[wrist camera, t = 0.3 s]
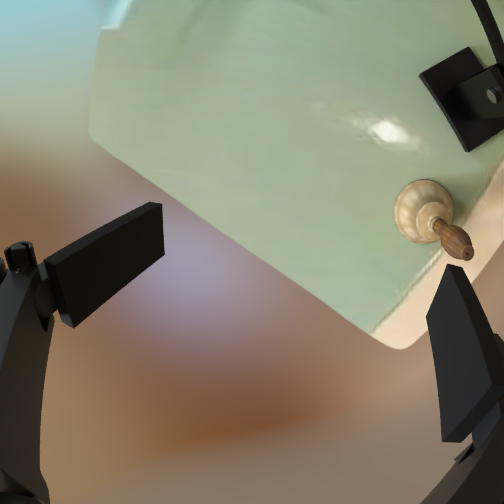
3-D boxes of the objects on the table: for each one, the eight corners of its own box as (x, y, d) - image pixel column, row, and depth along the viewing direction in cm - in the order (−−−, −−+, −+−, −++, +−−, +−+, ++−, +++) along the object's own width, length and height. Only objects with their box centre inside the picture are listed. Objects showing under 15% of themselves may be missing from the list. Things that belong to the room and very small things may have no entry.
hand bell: (390, 182, 34) (418, 209, 20) (450, 177, 31) (508, 202, 17) (396, 246, 36) (419, 308, 22) (453, 240, 34) (501, 297, 19)
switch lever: (401, -24, 13) (417, -26, 11) (482, -52, 8) (500, -52, 6) (470, 115, 20) (485, 125, 18) (534, 74, 15) (549, 83, 14)
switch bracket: (418, 75, 28) (451, 44, 16) (465, 48, 24) (509, 15, 12) (465, 151, 29) (517, 159, 17) (509, 122, 26) (568, 121, 13)
